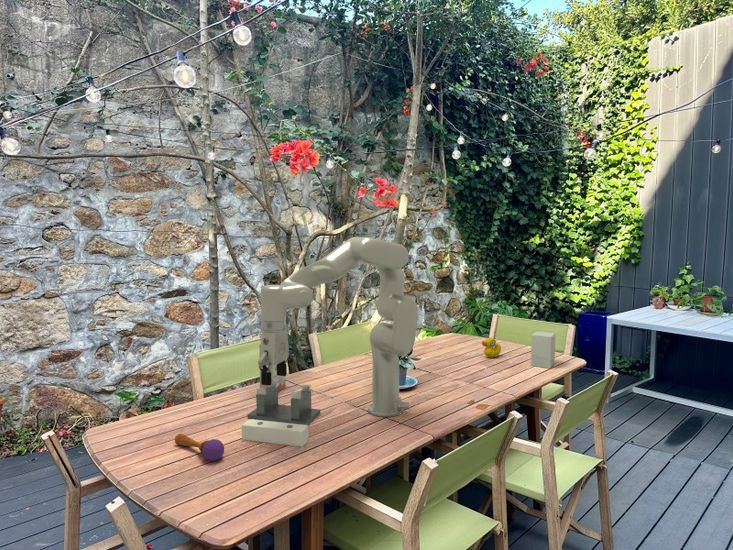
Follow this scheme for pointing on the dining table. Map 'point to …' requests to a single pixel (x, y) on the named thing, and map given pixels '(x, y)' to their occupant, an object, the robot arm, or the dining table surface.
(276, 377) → the cracker box
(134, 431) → the dining table surface
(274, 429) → the cream rectangular bar
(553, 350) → the supplement box
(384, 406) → the robot arm
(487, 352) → the duckling
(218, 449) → the purple maraca
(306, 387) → the rack
